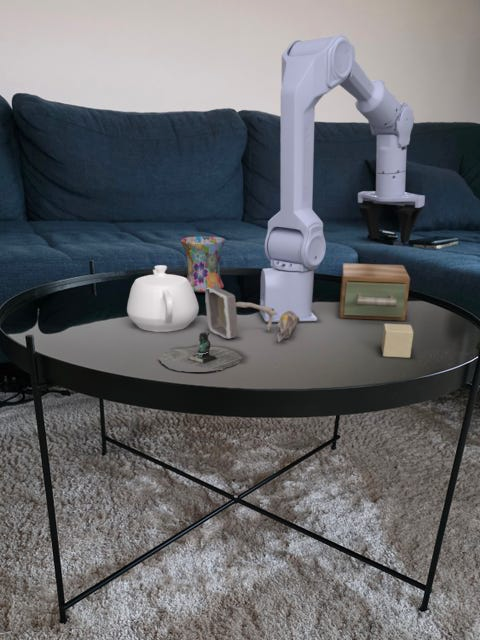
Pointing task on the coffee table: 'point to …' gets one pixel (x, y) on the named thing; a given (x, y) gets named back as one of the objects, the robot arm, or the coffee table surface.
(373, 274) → the cabinet
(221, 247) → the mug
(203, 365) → the sculpture
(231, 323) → the decorative sculpture
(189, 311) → the teapot
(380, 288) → the drawer
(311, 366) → the coffee table surface
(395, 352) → the block
